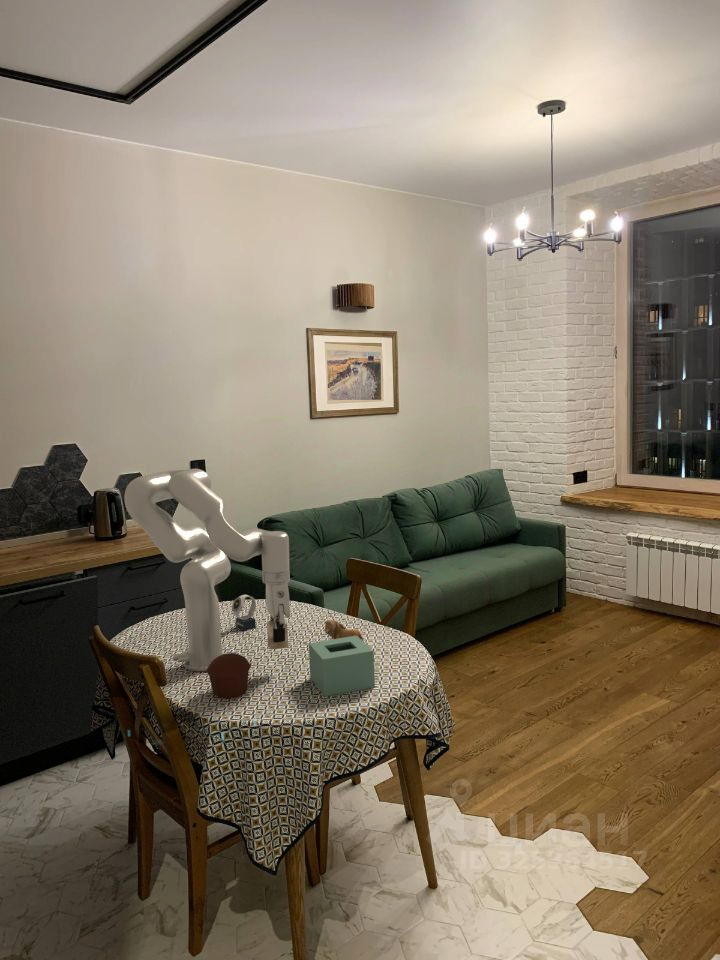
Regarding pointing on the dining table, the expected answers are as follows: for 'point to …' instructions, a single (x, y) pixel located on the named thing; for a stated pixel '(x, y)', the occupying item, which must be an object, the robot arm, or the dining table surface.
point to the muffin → (229, 675)
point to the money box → (341, 665)
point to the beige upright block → (271, 642)
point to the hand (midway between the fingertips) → (277, 638)
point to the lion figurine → (340, 630)
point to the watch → (244, 621)
